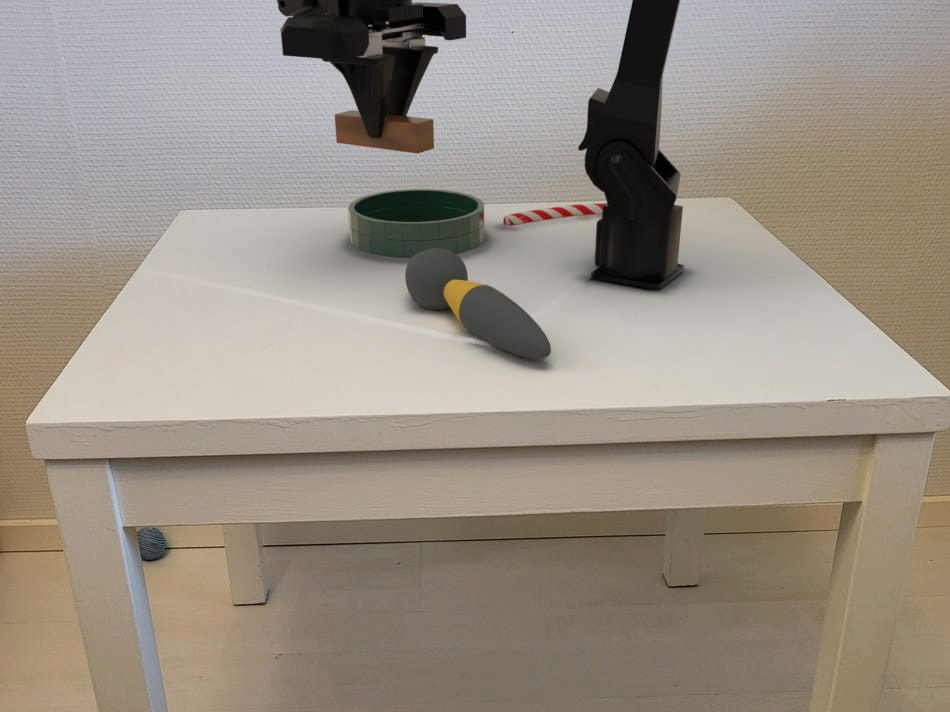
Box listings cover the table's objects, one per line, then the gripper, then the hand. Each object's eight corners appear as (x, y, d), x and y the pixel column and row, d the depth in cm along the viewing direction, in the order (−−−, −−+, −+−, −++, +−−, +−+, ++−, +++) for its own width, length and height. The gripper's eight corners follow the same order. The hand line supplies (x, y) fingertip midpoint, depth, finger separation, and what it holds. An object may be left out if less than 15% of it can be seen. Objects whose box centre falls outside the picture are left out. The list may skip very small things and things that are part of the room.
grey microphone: (586, 357, 72) (589, 291, 70) (534, 374, 70) (535, 306, 67) (429, 288, 86) (427, 231, 83) (381, 300, 83) (377, 242, 81)
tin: (508, 234, 100) (508, 198, 98) (437, 269, 90) (436, 230, 88) (401, 217, 106) (399, 183, 104) (323, 248, 96) (320, 211, 94)
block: (434, 148, 87) (433, 118, 86) (418, 153, 85) (417, 123, 84) (353, 138, 91) (351, 109, 90) (336, 143, 89) (334, 114, 88)
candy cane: (497, 206, 105) (634, 200, 107) (497, 219, 105) (633, 212, 107) (512, 227, 98) (657, 219, 100) (512, 240, 98) (656, 231, 101)
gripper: (365, -67, 91) (375, 111, 98) (218, -64, 77) (242, 144, 84) (468, -67, 85) (470, 121, 93) (330, -63, 72) (345, 158, 79)
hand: (384, 135), depth 87 cm, fingers closed on block, 2 cm apart
